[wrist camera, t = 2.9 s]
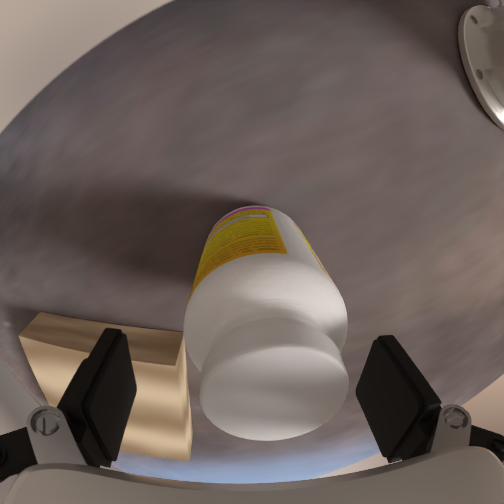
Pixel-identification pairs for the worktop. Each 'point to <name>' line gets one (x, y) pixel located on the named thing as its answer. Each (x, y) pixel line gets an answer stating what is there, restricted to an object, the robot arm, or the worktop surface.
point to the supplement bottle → (265, 329)
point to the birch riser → (145, 370)
